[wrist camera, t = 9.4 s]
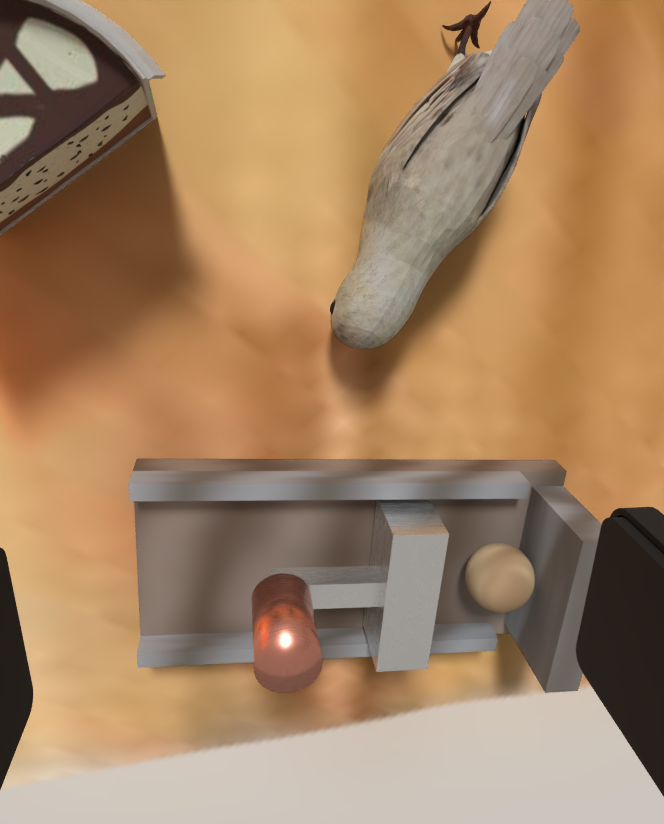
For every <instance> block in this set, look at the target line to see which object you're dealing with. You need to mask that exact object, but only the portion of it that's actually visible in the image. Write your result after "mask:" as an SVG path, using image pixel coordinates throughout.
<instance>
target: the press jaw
mask: <svg viewBox="0 0 664 824" xmlns="http://www.w3.org/2000/svg"><path fill="white" fill-rule="evenodd" d="M448 538H449V533H448V531H447V530H446V528H445V526H444V524H443V523H442V521H441V519H440V518H439V516H438V514H437V512H436V511H435V509H434V507H433V505H432V504H431V502H430V500H429V499H404V500H377V502H376V511H375V520H374V529H373V538H372V547H371V556H370V565H369V566H347V567H305V568H271V576H269V577H267V578H265V579H263V580H262V581H261V582H260V583H259V584H258V585H257V586H256V587H255V589H254V591H253V593H252V599H251V600H252V627H253V654H254V673H255V676H256V679H257V680H258V682H259V683H260V684H261V685H262V686H263V687H265V688H267V689H269V690H271V691H274V692H279V693H290V692H295V691H299V690H301V689H304V688H306V687H307V686H309V685H310V684H312V683H313V682H314V681H315V680H316V679H317V677H318V676H319V674H320V672H321V669H322V656H321V650H320V645H319V639H318V633H317V628H316V622H315V616H314V610H313V609H330V608H359V607H365V610H364V619H363V626H364V630H365V633H366V637H367V640H368V644H369V648H370V651H371V655H372V659H373V662H374V666H375V669H376V672H383V671H403V670H422V669H427V668H428V661H429V655H430V649H431V643H432V637H433V631H434V624H435V618H436V612H437V606H438V600H439V594H440V587H441V581H442V575H443V569H444V563H445V557H446V550H447V544H448Z"/></svg>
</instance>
